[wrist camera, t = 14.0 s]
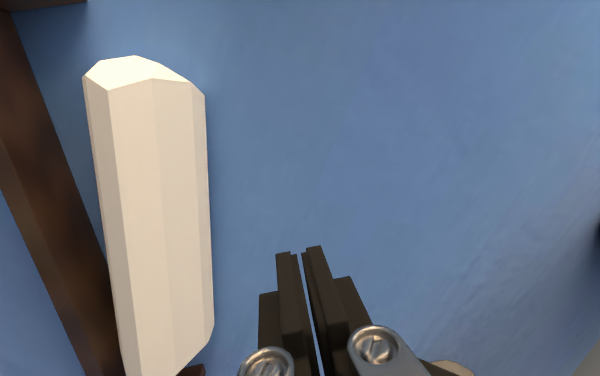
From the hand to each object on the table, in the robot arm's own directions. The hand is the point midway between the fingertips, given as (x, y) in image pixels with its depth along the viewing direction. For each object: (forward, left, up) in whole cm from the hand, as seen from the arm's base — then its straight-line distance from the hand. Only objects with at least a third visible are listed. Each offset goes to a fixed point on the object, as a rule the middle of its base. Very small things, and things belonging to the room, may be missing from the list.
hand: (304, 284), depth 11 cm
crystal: (+1, -10, -15) cm, 18 cm away
